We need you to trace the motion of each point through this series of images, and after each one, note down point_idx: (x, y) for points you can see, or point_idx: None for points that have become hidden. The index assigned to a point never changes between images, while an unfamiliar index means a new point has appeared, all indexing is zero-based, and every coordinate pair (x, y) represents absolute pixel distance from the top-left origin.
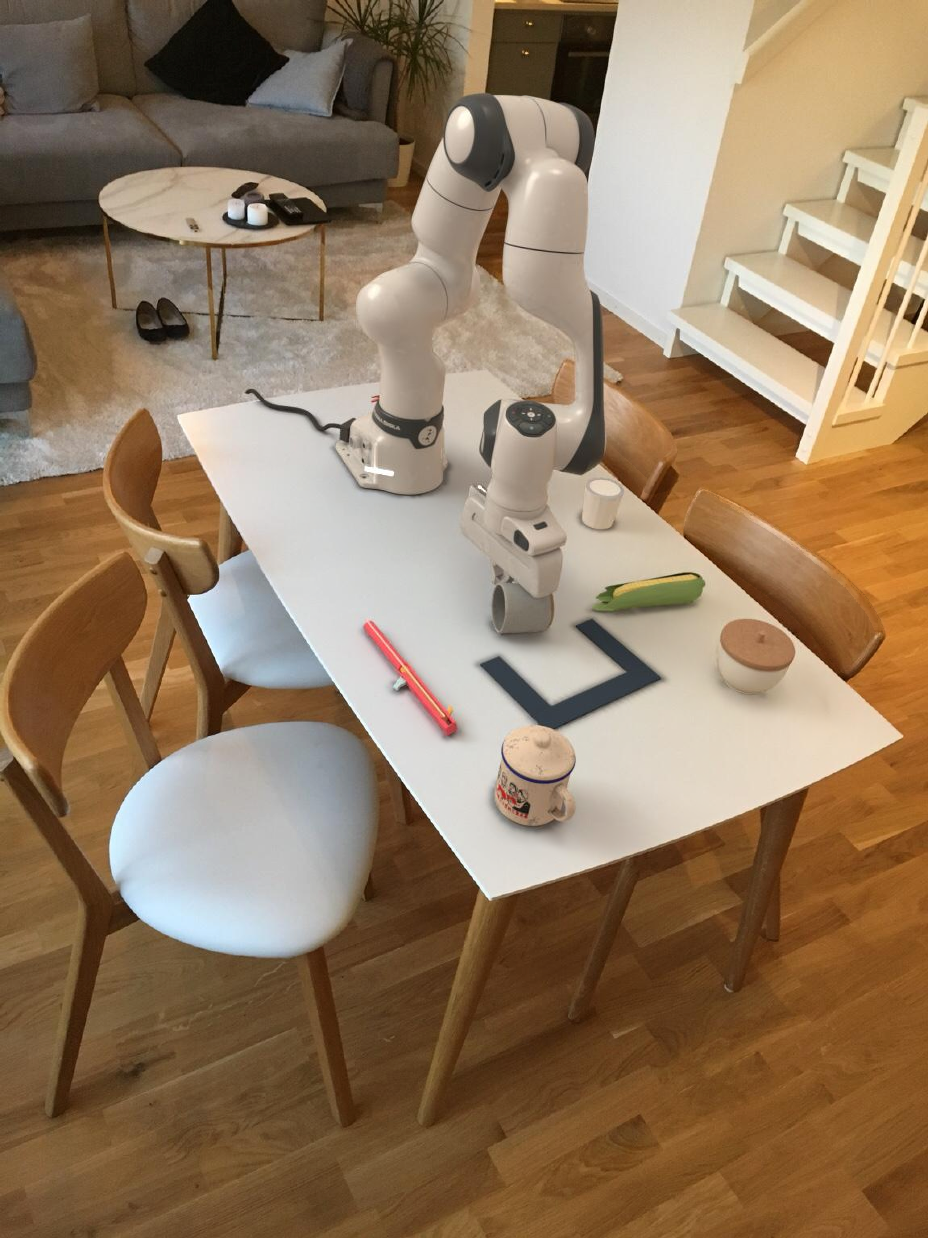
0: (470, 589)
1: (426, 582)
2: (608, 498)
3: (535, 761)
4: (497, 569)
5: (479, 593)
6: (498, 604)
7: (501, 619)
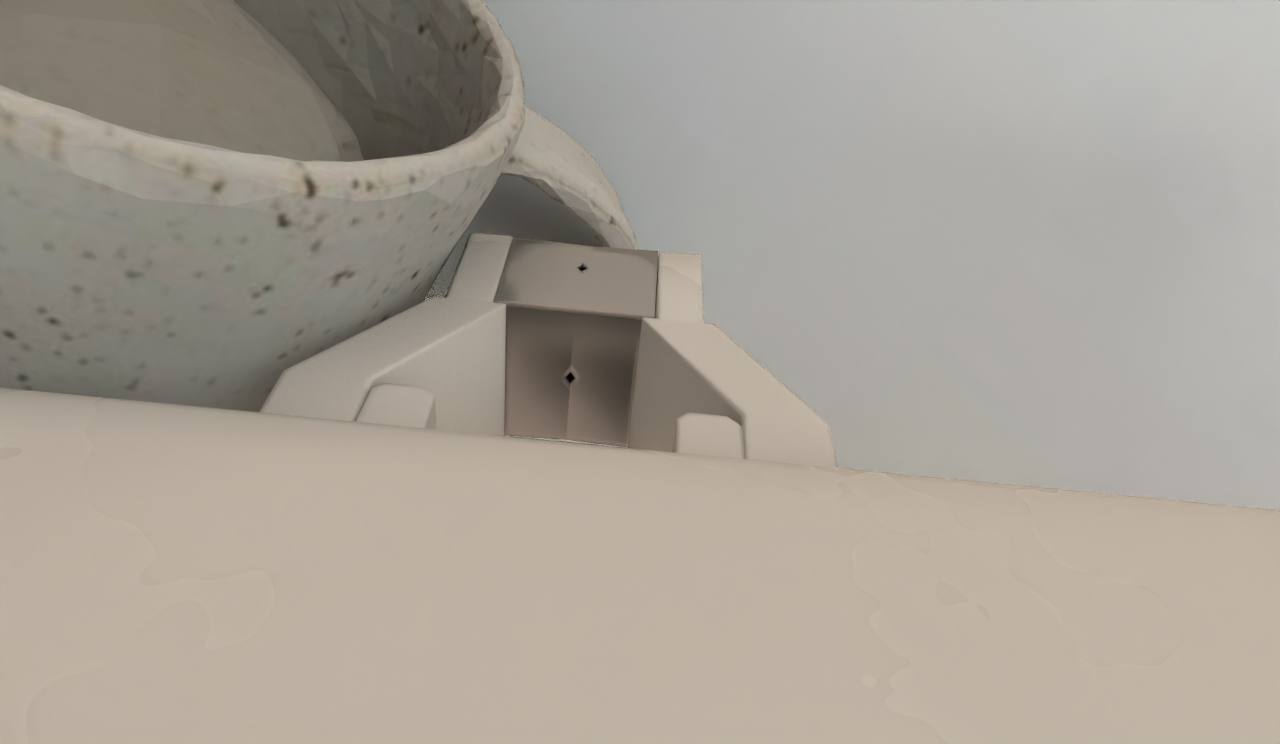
0: (974, 109)
1: None
2: None
3: None
4: (678, 414)
5: (861, 142)
6: (456, 98)
7: (343, 6)
